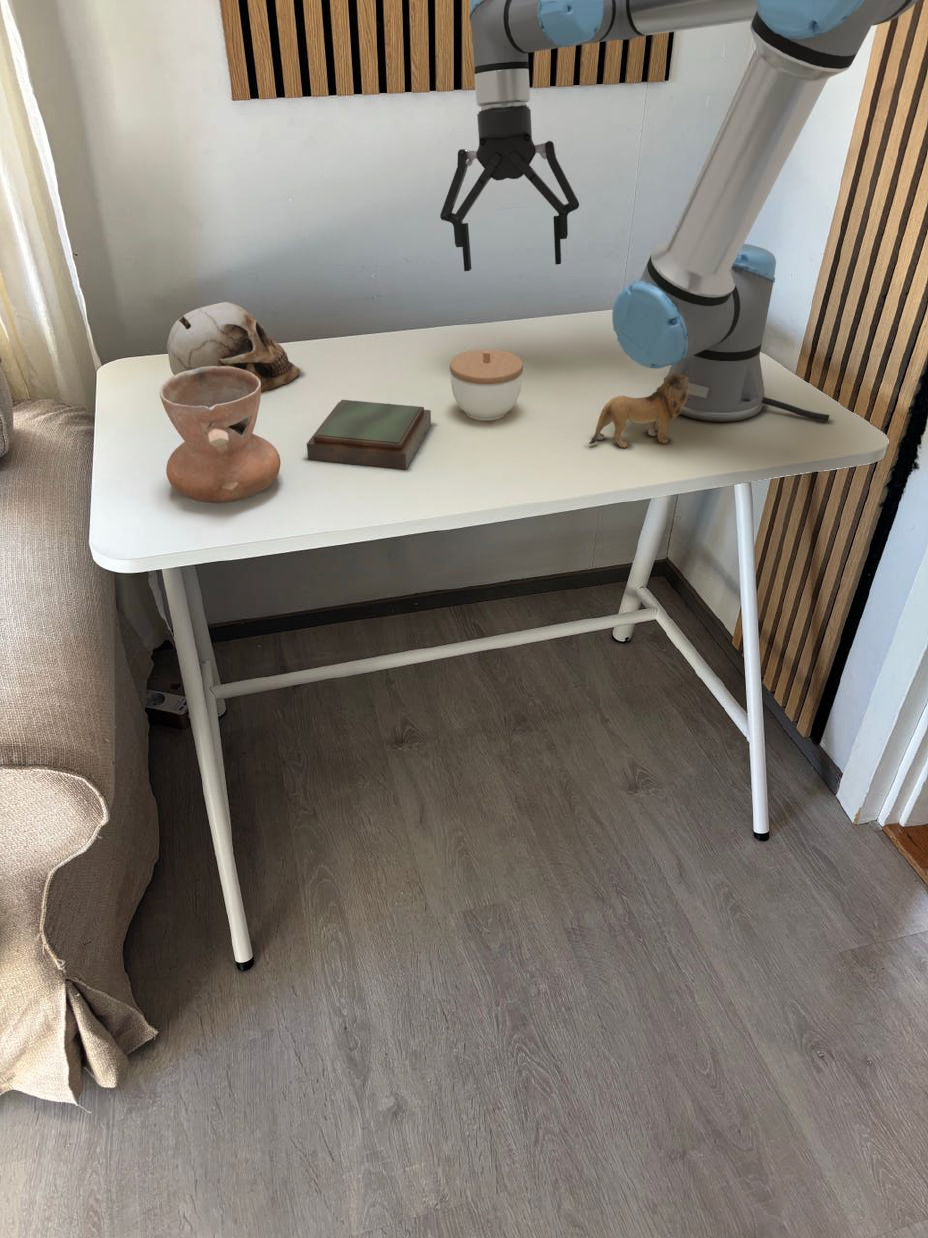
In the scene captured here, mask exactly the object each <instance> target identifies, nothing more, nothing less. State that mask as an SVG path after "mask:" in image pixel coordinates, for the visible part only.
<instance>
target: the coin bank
mask: <svg viewBox="0 0 928 1238" xmlns="http://www.w3.org/2000/svg"><path fill="white" fill-rule="evenodd" d="M166 351H167V355H168V362H169V367H170V370H171V373H172V375H173V376H175V375H177V374H179V373H181V372H184V371H189V370H193V369H197V368H200V367H207V366H217V367H220V366H229V367H235V368H239V369H242V370H246V371H248V372H251V373H252V374H254V375H255V376H257V377H258V378H259V380H260V382H261V392H263V391H269V390H272V389H274V388H278V387H280V386H281V385H288V384H289V383H291V382H292V381H293V380H294V379H295V378H296V377H298V376H300V375H301V371H300V369H299V368H298V366H296V365H295V364H294V363H292V362H291V361H290V360H289V357H288V353H287V352H286V351H285V350H284V347H282V346H281V344H279V343H278V342H276V341H273V340H272V339H270V337H268V335H267V333H266V332H265V329H264V325H262V324H259V322H258V320H257V319H255V317H254V316H253V314H252V313H249V312H248V311H247V310H246V309H245V308H243V307H241V306H240V305H238V304H235V303H233V302H229V301H223V302H219V303H213V304H210V305H206V306H201V307H198V308H196V309H193V310H191V311H189V312H187V313H184V314H183V315H182V316H180V318H178V319H177V320H176V321H175V322H174V324H173V326H172V327H171V329H170V332H169V335H168V338H167V343H166Z"/></svg>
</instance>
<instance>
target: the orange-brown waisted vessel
mask: <svg viewBox="0 0 928 1238" xmlns="http://www.w3.org/2000/svg"><path fill="white" fill-rule="evenodd" d="M261 396H262V391H261V382H260V380H259V378H258V377H257V376H255V375H254V374H252V373H251V372H248V371H246V370H242V369H239V368H235V367H229V366H220V367H217V366H207V367H200V368H197V369H193V370H189V371H184V372H181V373H179V374H177V375H175V376H174V375H173V376H171V377H169V378H168V379H166V380H165V381H164V382H163V383H162V384H161V386H160V388H159V397H160V401H161V403H162V406H163V408H164V410H165V412H166V414H167V416H168V418H169V421H170V422H171V424H172V426H173V427H174V429H175V430H176V431H177V433H178V435H179V436H180V437H181V439H182V440H183V442H182V443H180V445H178V447H176V448H175V449H174V450H173V451H172V453H171V454H170V456H169V458H168V459H167V461H166V462H167V463H166V467H165V472H166V477H167V480H168V482H169V483H170V485H171V486H172V488H173V489H174V490H175V491H177V492H178V493H179V494H181V495H182V496H184V497H185V498H188V499H190V500H193V501H196V502H200V503H207V504H225V503H226V504H227V503H234V502H238V501H243V500H245V499H249V498H251V497H254V496H256V495H258V494H260V493H261V492H263V491H265V489H267V488H269V487H270V486H271V485H272V484H273V483H274V482H275V480H276V478H277V477H278V476H279V472H280V469H281V462H282V461H281V457H280V454H279V451H278V450H277V448H276V447H275V446H274V445H273V444H272V443H271V442H270V441H268V440H267V439H265V438H264V437H261V436H259V435H257V434H255V433H253V432H254V429H255V426H256V423H257V419H258V414H259V409H260V405H261Z"/></svg>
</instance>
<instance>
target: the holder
mask: <svg viewBox="0 0 928 1238" xmlns="http://www.w3.org/2000/svg"><path fill="white" fill-rule="evenodd" d="M424 407H425V406H416V405H405V404H394V403H384V402H373V401H362V400H350V399H341V400H340V401H338V402H337V404H336V405H335V406H334V408H333V409H332V410H331V411H330V413H329V414H328V415H327V417H326V418H325V419H324V420H323V422H322V423H321V424H320V425H319V427H318V428H317V429H316V431H315V432H314V433H313V435H312V436H311V437H310V438H309V440H308V441H307V442H306V453H307V459H308V460H309V461H319V462H327V463H337V464H339V463H340V464H348V465H358V466H368V467H376V468H377V467H378V468H388V469H398V470H407V469H408V467H409V466H410V463H411V462H412V460H413V459H414V457H415V455H416V453H417V451H418V449H419V447H420V446H421V444H422V442H423V440H424V439H425V437H426V435H427V433H428V431H429V430H430V428H431V426H432V410H431V409H425V408H424Z"/></svg>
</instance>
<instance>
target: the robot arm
mask: <svg viewBox="0 0 928 1238" xmlns="http://www.w3.org/2000/svg"><path fill="white" fill-rule="evenodd" d="M918 1H919V0H469V15H468V17H469V21H470V30H471V41H472V42H471V43H472V55H473V56H472V57H473V67H474V69H473V70H474V76H473V77H474V89H475V100H476V106H478V107H480V110H479V111H478V113H477V114H476V116H477V131H478V146H477V147H478V148H477V150H470V149H469V150H467V149H465V148H460V149H458V151H457V164H456V165H457V167H456V170H455V172H454V175H453V178H452V180H451V183H450V186H449V189H448V192H447V195H446V197H445V200H444V203H443V206H442V209H441V211H440V215H439V217H440V220H441V221H445V222H448V223H451V224H452V226H453V235H454V245H455V247H456V248H462V258H463V259H462V260H463V271H464V272H469V271H471V270H472V257H471V245H470V230H469V229H470V228H469V223H468V222H464V219H465V218H466V216H467V215H468V213H469V212H470V210H471V209H472V207H473V205H475V203H476V201H477V200H478V198H479V197H480V195H481V193H482V192H483V191H484V189H485V188H486V186H487V184H488V183H489V182H490V180H491V179H492V180H494V181H504V180H507V179H510V180H519V179H520V178H522V177H523V176H524V177H525V178H526V179H527V180H528V181H529V182H530V183H531V184H532V185H533V187H535V189H536V190H537V191H538V192H539V194H540V195H542V196H543V198H544V199H545V200H546V201H547V203H549V204H550V206H551V207H552V208H553V209H554V210H555V211H556V213H557V214H558V215H553V240H554V241H553V242H554V262H555V263H554V264H555V266H557V265H561V264H562V247H561V245H562V244H561V242H562V241H561V240H567V238H568V235H569V225H568V223H569V222H568V215H569V214H570V213H571V212H574V211H576V210H578V209H579V208H580V202H579V201H580V200H579V199H578V198H577V196H576V194H575V192H574V190H573V187H572V186H571V183H570V182H569V180H568V177H567V176H566V174H565V172H564V170H563V169H562V166H561V164H560V163H559V161H558V158H557V153H556V148H555V143H554V142H553V141H552V140H548V141H546V142H543V143H539V144H535V143H534V141H533V134H532V133H533V132H532V113H531V108H530V106H528V105H527V103H528V102H530V101H531V92H530V91H531V90H530V70H529V69H530V67H529V54H532V53H536V52H540V51H548V50H555V49H559V48H561V49H562V48H569V47H576V46H583V45H588V44H595V43H601V42H602V43H603V42H611V41H613V42H614V41H625V40H626V41H627V40H634V39H637V38H640V37H645V36H646V37H647V36H651V35H652V36H653V35H661V34H667V33H674V32H680V31H689V30H695V29H703V28H710V27H718V26H724V25H732V24H738V23H746V22H751V23H750V26H749V28H750V29H749V30H750V32H751V35H752V38H753V42H754V45H755V49H754V51H753V54H752V55H751V58H750V60H749V62H748V65H747V67H746V69H745V71H744V74H743V76H742V78H741V80H740V83H739V85H738V87H737V89H736V92H735V94H734V96H733V98H732V101H731V103H730V105H729V107H728V109H727V112H726V114H725V116H724V119H723V121H722V123H721V125H720V127H719V130H718V133H717V134H716V136H715V138H714V141H713V143H712V145H711V148H710V149H709V152H708V154H707V157H706V159H705V161H704V163H703V166H702V167H701V170H700V173H699V175H698V177H697V179H696V181H695V183H694V186H693V188H692V190H691V193H690V195H689V197H688V198H687V201H686V204H685V206H684V208H683V211H682V213H681V215H680V217H679V219H678V222H677V224H676V226H675V228H674V230H673V233H672V235H671V238H670V240H667V241H664V242H661V243H658V244H657V245H656V246H655V247H654V248H653V250H652V251H651V254H650V256H649V257H648V261H647V263H646V265H645V267H644V270H643V271H642V274H641V276H640V278H639V280H637V281H633V282H630V283H628V284H627V285H626V287H624V288H623V289H622V290H621V291H619V293H618V294H617V296H616V298H615V300H614V303H613V306H612V314H611V316H612V317H611V318H612V321H611V322H612V328H613V331H614V332H615V334H616V339H617V343H618V345H619V346H620V347H621V349H622V350H623V352H624V354H625V355H627V357H629V358H630V359H631V360H632V361H633V362H635V363H636V364H638V365H639V366H641V367H644V368H648V369H655V370H656V369H663V368H666V367H668V366H670V368H669V370H668V372H667V373H666V376H665V377H667V376H668V375H672V374H674V373H678V374H681V375H684V376H686V377H688V383H689V387H690V393H689V395H688V397H687V401H686V403H685V404H684V407H683V408H682V411H681V413H680V414H679V415H681V416H684V417H687V418H691V419H693V420H694V419H695V420H700V421H706V422H718V423H719V422H721V423H722V422H725V423H727V422H736V421H742V420H746V419H749V418H752V417H754V416H756V415H758V414H759V413H760V412H761V411H762V409H763V406H764V405H767V406H771V407H774V408H776V409H780V410H783V411H787V412H789V413H793V414H795V415H798V416H801V417H804V418H808V419H812V420H818V421H823V422H829V419H830V414H826V413H819V412H814V411H810V410H808V409H807V410H806V409H803V408H800V407H797V406H795V405H792V404H790V403H786V402H784V401H783V402H782V401H779V400H776V399H773V398H770V397H766V396H765V386H764V385H765V384H764V377H763V371H762V364H761V357H760V356H761V349H762V346H763V345H762V344H763V339H764V334H765V329H766V324H767V320H768V319H767V318H768V313H769V309H770V302H771V299H772V293H773V287H774V284H775V283H776V277H775V275H776V266H777V260H776V257H775V255H774V254H773V253H772V252H771V251H769V250H768V249H766V248H763V247H762V246H761V247H760V246H756V245H753V244H749V243H745V242H746V240H747V238H748V236H749V235H750V232H751V230H752V228H753V226H754V225H755V223H756V220H757V218H758V217H759V215H760V213H761V211H762V209H763V207H764V205H765V203H766V201H767V199H768V197H769V195H770V193H771V191H772V189H773V187H774V185H775V184H776V181H777V180H778V178H779V175H780V174H781V172H782V170H783V168H784V166H785V164H786V162H787V160H788V158H789V156H790V154H791V153H792V150H793V149H794V147H795V144H796V143H797V140H798V139H799V136H800V135H801V133H802V131H803V130H804V129H803V128H804V127H805V125H806V123H807V122H808V119H809V117H810V116H811V113H812V111H813V109H814V107H815V105H816V104H817V101H818V100H819V97H820V96H821V94H822V92H823V90H824V88H825V86H826V84H827V82H828V80H829V79H830V78H832V77H835V76H836V75H837V76H838V75H839V74H841V73H844V72H846V71H848V70H849V69H850V68H851V67H852V65H853V62H854V61H855V58H856V57H857V55H858V53H859V51H860V49H861V47H862V46H863V43H864V42H865V40H866V38H867V35H868V34H869V32H870V30H871V28H872V26H878V25H881V24H885V23H888V22H891V21H892V20H895V19H896V18H898V17H901V16H902V15H903V14H904V13H907V11H909V10H910V9H911V8H912V7H914V6H915V5H916V4H917V2H918ZM536 154H539V155H540V157H541V159H543V160H546V161H547V163H548V166H549V168H550V170H551V171H552V173H553V176H554V177H555V180H556V181H557V184H558V185H559V187H560V189H561V191H562V193H563V195H564V197H565V199H566V201H567V203H566V204H564V203H563V201H561V199H560V198H559V197H558V196H557V195H556V194H555V193H554V191H553V190H552V189H551V188H550V187H549V186H548V184H546V182H545V181H544V180H543V179H542V178H541V177H540V176H539V175H538V173H537V172H536V170H535V169H534V167H532V166H531V163H532V161H533V159H535V156H536ZM475 160H477V161H478V162H479V164H480V165H481V166H482V167H483V170H482V172H481V173H480V175H479V176H478V178H477V180H476V182H475V183H474V185H473V186H472V188H471V189H470V191H469V193H468V194H467V195H466V197H465V198H464V199H463V202H462V203H461V205H459V208H458V209H457V210H456V212H453V210H454V208H455V205H456V203H457V199H458V197H459V193H460V191H461V188H462V185H463V183H464V180H465V178H466V174H467V171H468V168H469V167H471V166H472V165H473V163H474V161H475ZM463 222H464V223H463Z"/></svg>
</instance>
